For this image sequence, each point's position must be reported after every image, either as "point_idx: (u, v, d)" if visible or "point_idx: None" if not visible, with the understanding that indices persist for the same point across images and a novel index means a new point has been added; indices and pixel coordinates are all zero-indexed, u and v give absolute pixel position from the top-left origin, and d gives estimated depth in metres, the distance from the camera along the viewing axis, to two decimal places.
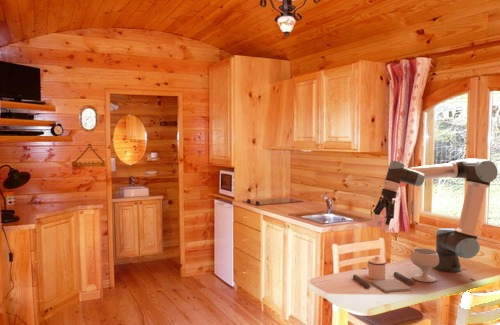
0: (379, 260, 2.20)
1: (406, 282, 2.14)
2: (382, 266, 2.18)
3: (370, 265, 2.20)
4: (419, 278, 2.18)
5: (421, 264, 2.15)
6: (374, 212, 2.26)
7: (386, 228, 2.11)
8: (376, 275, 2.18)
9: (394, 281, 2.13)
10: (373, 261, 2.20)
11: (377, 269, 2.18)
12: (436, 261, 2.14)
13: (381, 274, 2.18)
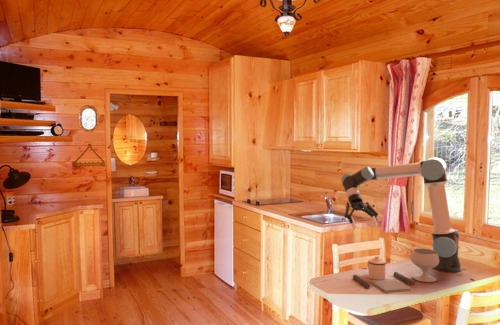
0: (379, 260, 2.20)
1: (406, 282, 2.14)
2: (382, 266, 2.18)
3: (370, 265, 2.20)
4: (419, 278, 2.18)
5: (421, 264, 2.15)
6: None
7: (353, 224, 2.32)
8: (376, 275, 2.18)
9: (394, 281, 2.13)
10: (373, 261, 2.20)
11: (377, 269, 2.18)
12: (436, 261, 2.14)
13: (381, 274, 2.18)
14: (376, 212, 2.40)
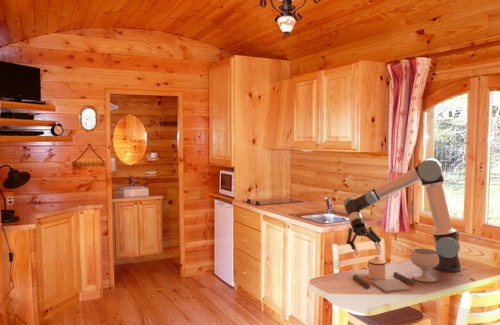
0: (379, 260, 2.20)
1: (406, 282, 2.14)
2: (382, 266, 2.18)
3: (370, 265, 2.20)
4: (419, 278, 2.18)
5: (421, 264, 2.15)
6: None
7: (356, 251, 2.27)
8: (376, 275, 2.18)
9: (394, 281, 2.13)
10: (373, 261, 2.20)
11: (377, 269, 2.18)
12: (436, 261, 2.14)
13: (381, 274, 2.18)
14: (379, 238, 2.35)
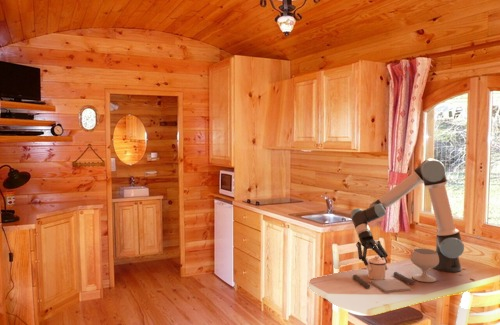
0: (379, 260, 2.19)
1: (406, 282, 2.14)
2: (382, 266, 2.18)
3: (370, 265, 2.20)
4: (419, 278, 2.18)
5: (421, 264, 2.15)
6: None
7: (369, 267, 2.20)
8: (376, 275, 2.18)
9: (394, 281, 2.13)
10: (373, 261, 2.20)
11: (377, 269, 2.18)
12: (436, 261, 2.14)
13: (381, 274, 2.18)
14: (386, 253, 2.27)
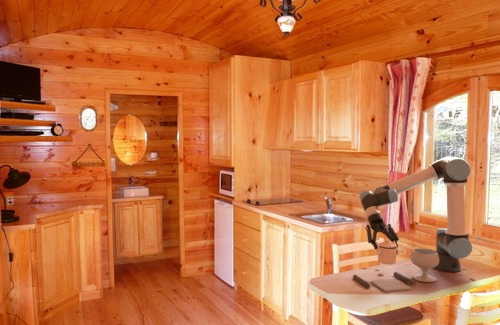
0: (389, 243, 2.08)
1: (406, 282, 2.14)
2: (393, 250, 2.06)
3: (380, 249, 2.09)
4: (419, 278, 2.18)
5: (421, 264, 2.15)
6: None
7: (378, 251, 2.08)
8: (386, 259, 2.06)
9: (394, 281, 2.13)
10: (383, 244, 2.08)
11: (387, 253, 2.06)
12: (436, 261, 2.14)
13: (391, 258, 2.06)
14: (397, 236, 2.15)
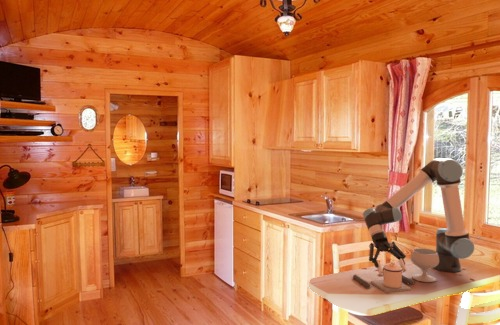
0: (395, 266, 2.05)
1: (406, 282, 2.14)
2: (399, 273, 2.03)
3: (386, 272, 2.06)
4: (419, 278, 2.18)
5: (421, 264, 2.15)
6: None
7: (380, 269, 2.05)
8: (392, 282, 2.03)
9: None
10: (389, 268, 2.05)
11: (393, 277, 2.03)
12: (436, 261, 2.14)
13: (397, 281, 2.03)
14: (403, 254, 2.13)
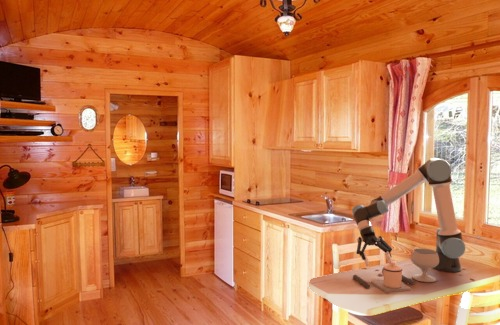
0: (395, 266, 2.05)
1: (406, 282, 2.14)
2: (399, 273, 2.03)
3: (385, 272, 2.06)
4: (419, 278, 2.18)
5: (421, 264, 2.15)
6: None
7: (366, 262, 2.18)
8: (392, 283, 2.03)
9: None
10: (389, 268, 2.05)
11: (393, 277, 2.03)
12: (436, 261, 2.14)
13: (397, 281, 2.03)
14: (390, 247, 2.26)
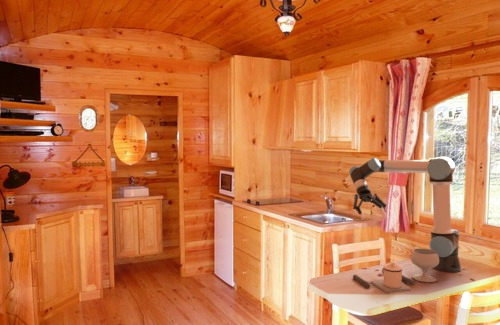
0: (395, 267, 2.05)
1: (406, 282, 2.14)
2: (399, 273, 2.03)
3: (385, 272, 2.06)
4: (419, 278, 2.18)
5: (421, 264, 2.15)
6: None
7: (362, 215, 2.33)
8: (392, 283, 2.03)
9: None
10: (389, 268, 2.05)
11: (393, 277, 2.03)
12: (436, 261, 2.14)
13: (397, 281, 2.03)
14: (384, 203, 2.41)
